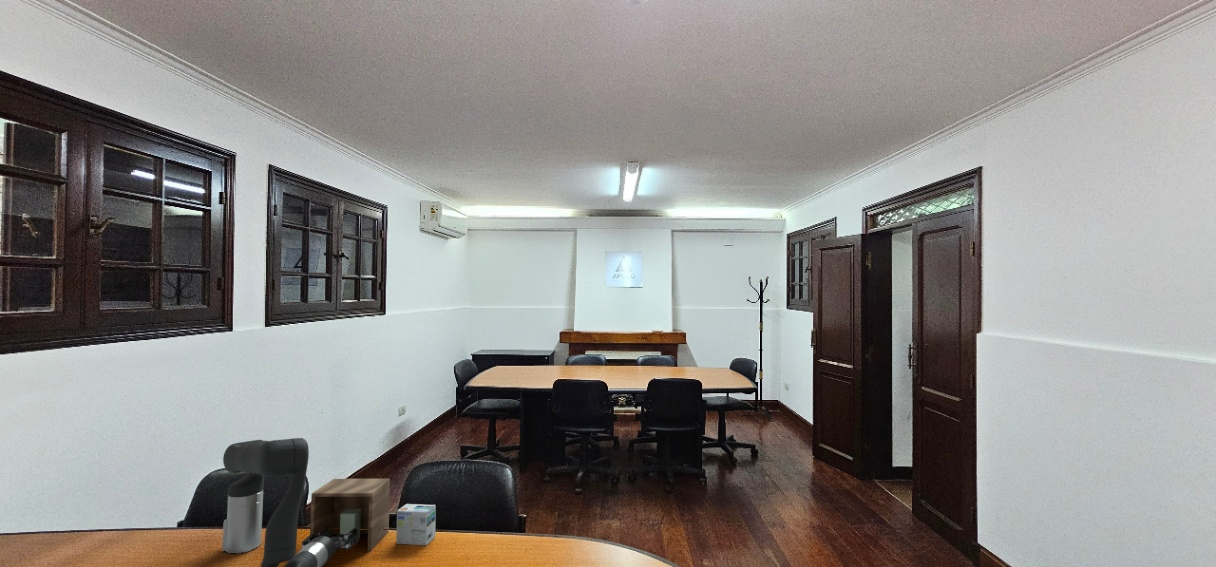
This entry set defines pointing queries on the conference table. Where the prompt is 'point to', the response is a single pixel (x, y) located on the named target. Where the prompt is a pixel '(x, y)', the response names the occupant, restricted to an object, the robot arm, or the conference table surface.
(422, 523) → the light bulb box
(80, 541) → the conference table surface
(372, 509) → the hutch
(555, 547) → the conference table surface
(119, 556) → the conference table surface
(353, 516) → the block
